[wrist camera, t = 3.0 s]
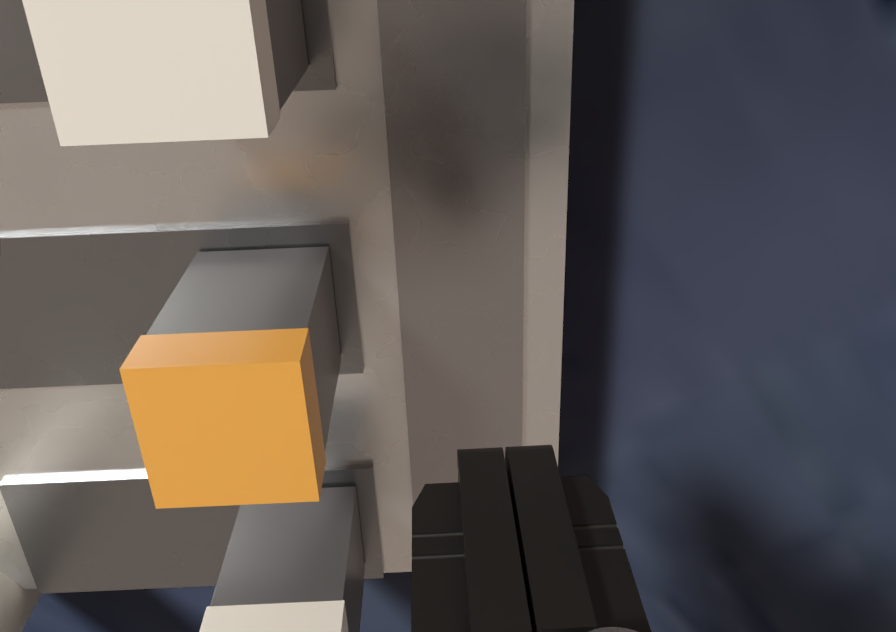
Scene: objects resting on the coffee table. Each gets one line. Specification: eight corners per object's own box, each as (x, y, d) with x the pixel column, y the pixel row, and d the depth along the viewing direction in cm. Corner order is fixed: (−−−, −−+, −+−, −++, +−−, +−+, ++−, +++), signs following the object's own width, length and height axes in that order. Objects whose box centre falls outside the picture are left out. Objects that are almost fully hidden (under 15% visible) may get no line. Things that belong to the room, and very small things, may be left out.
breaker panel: (556, -134, 18) (580, -138, 15) (541, 497, 26) (555, 570, 24) (-531, -91, 18) (-710, -87, 15) (-198, 530, 26) (-273, 607, 23)
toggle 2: (330, 244, 19) (299, 361, 14) (343, 360, 20) (319, 501, 15) (195, 249, 18) (119, 368, 14) (217, 365, 20) (156, 508, 15)
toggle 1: (292, -99, 15) (235, -95, 11) (311, 69, 17) (268, 137, 12) (128, -93, 15) (-1, -85, 11) (160, 75, 17) (60, 145, 12)
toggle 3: (357, 485, 22) (339, 643, 17) (366, 569, 23) (352, 737, 19) (242, 489, 22) (193, 650, 17) (258, 574, 23) (217, 743, 19)
